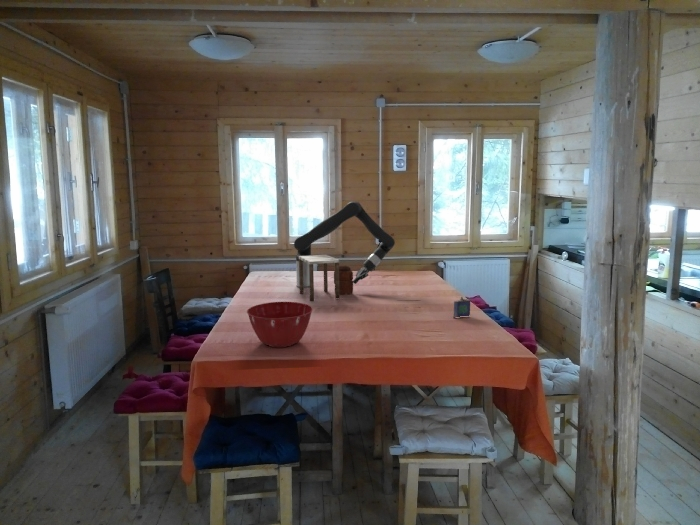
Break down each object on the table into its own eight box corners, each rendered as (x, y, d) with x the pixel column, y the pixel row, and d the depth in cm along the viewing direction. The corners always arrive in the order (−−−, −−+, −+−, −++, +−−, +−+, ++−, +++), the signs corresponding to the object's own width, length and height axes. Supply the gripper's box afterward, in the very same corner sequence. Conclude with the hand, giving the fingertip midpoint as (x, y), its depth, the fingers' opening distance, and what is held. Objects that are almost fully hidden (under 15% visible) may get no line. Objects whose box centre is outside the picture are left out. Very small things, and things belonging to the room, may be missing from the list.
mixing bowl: (313, 352, 229) (312, 316, 227) (244, 354, 227) (243, 318, 224) (312, 333, 257) (312, 300, 254) (251, 334, 255) (250, 302, 252)
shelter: (299, 293, 344) (298, 256, 341) (327, 290, 351) (326, 254, 347) (310, 301, 322) (309, 261, 318) (340, 298, 328) (339, 259, 324)
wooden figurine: (352, 292, 345) (352, 264, 342) (353, 294, 339) (353, 265, 336) (334, 292, 345) (333, 264, 342) (334, 295, 338) (333, 266, 336)
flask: (455, 318, 280) (455, 298, 278) (452, 317, 282) (452, 297, 281) (470, 317, 283) (471, 297, 281) (467, 316, 285) (468, 295, 284)
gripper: (364, 257, 351) (346, 277, 348) (372, 260, 338) (353, 280, 336) (371, 264, 353) (354, 284, 351) (380, 267, 341) (361, 288, 339)
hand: (354, 282), depth 343 cm, fingers closed
